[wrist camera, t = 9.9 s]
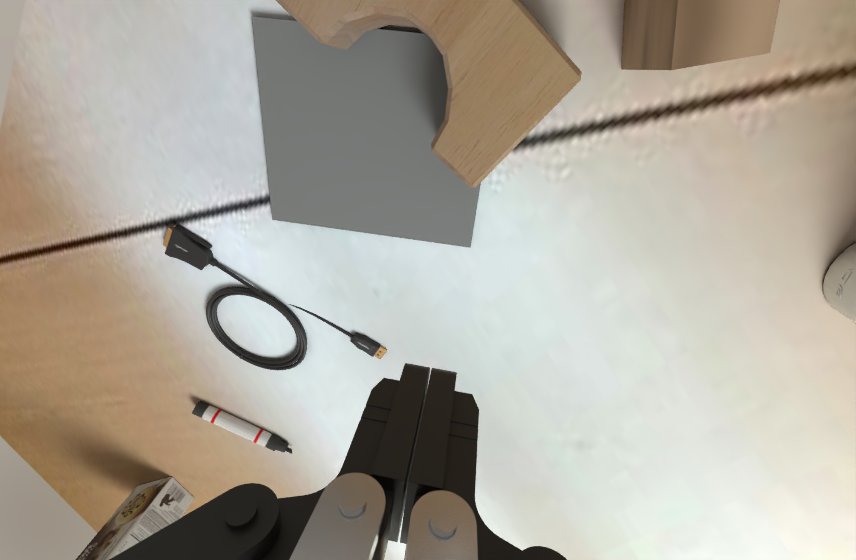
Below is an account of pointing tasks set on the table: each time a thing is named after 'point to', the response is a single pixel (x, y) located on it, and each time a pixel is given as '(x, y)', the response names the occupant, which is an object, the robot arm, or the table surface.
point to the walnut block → (695, 32)
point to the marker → (240, 427)
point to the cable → (200, 255)
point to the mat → (359, 134)
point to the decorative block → (465, 68)
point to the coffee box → (139, 518)
